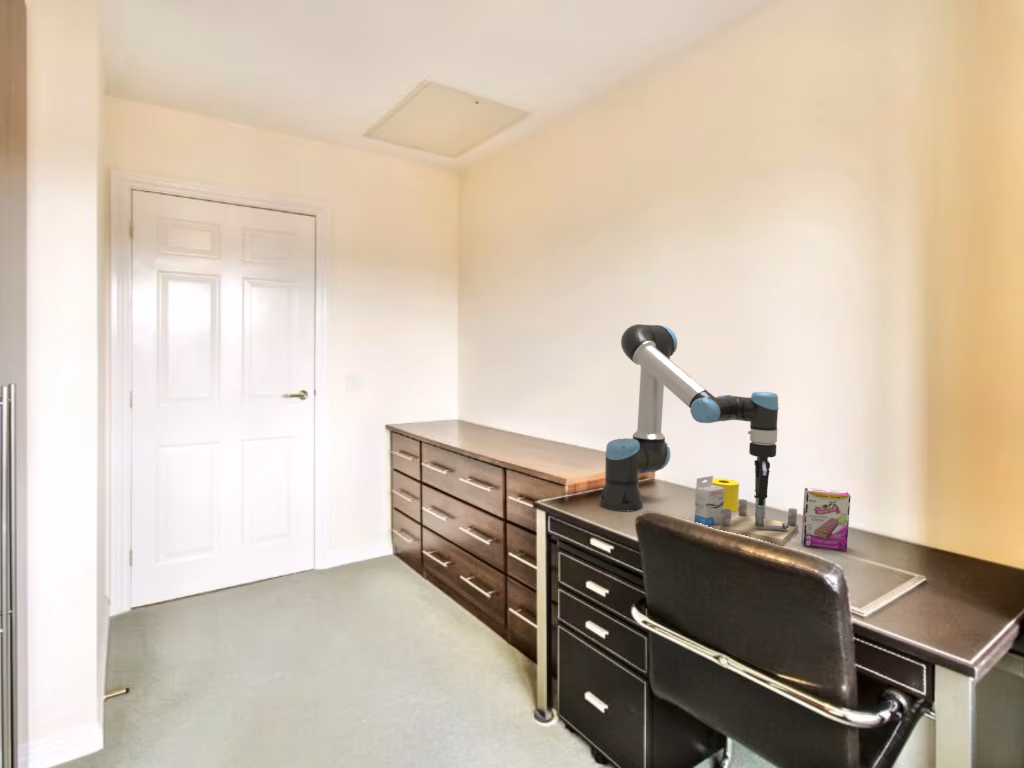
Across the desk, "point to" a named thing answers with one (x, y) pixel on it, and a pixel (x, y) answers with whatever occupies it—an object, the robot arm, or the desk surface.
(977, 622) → the desk surface
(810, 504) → the candy bar box
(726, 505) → the yellow paper roll
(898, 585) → the desk surface
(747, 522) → the peg board
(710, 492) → the ink box
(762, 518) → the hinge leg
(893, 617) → the desk surface
